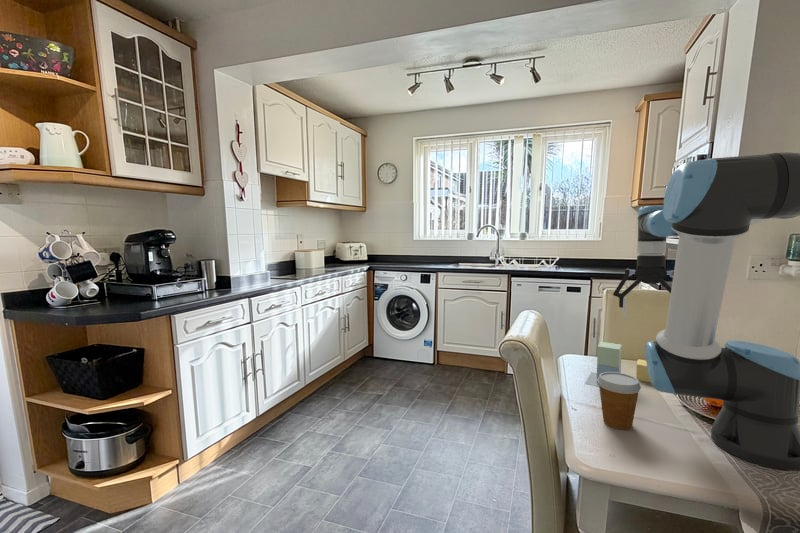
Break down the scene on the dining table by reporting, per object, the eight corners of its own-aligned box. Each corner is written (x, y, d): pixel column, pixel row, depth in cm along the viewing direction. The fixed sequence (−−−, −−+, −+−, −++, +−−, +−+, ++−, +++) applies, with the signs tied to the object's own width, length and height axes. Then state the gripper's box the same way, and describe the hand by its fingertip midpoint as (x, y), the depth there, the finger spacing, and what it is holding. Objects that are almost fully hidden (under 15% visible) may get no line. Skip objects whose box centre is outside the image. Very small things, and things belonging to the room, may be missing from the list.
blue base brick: (618, 387, 109) (618, 368, 109) (596, 382, 113) (597, 364, 113) (620, 380, 114) (620, 362, 114) (599, 376, 118) (599, 359, 117)
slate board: (629, 395, 105) (629, 393, 105) (584, 386, 113) (584, 383, 112) (632, 382, 115) (632, 379, 115) (591, 374, 122) (591, 372, 122)
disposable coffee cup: (595, 411, 96) (596, 369, 95) (636, 418, 92) (637, 374, 91) (597, 428, 88) (598, 382, 87) (643, 437, 84) (644, 388, 83)
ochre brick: (658, 386, 111) (659, 368, 111) (636, 382, 115) (636, 364, 114) (659, 380, 116) (659, 362, 116) (637, 376, 120) (638, 359, 119)
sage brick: (619, 368, 109) (619, 349, 109) (597, 364, 113) (597, 346, 112) (621, 362, 114) (621, 344, 113) (600, 359, 118) (600, 341, 117)
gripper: (701, 254, 108) (698, 322, 109) (607, 253, 123) (606, 313, 124) (703, 255, 102) (700, 327, 103) (604, 255, 117) (603, 317, 118)
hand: (649, 319), depth 114 cm, fingers open, 13 cm apart
